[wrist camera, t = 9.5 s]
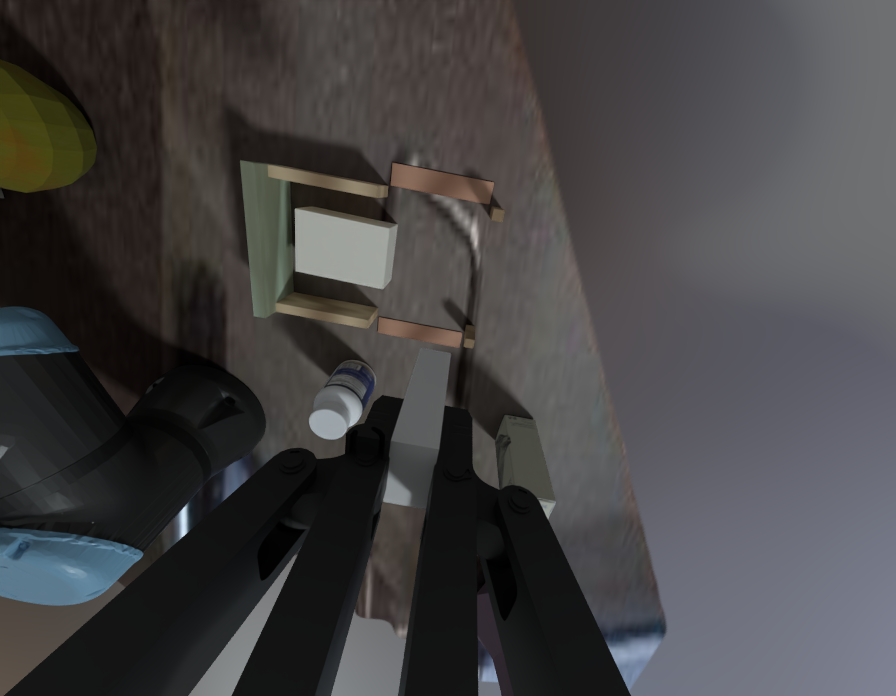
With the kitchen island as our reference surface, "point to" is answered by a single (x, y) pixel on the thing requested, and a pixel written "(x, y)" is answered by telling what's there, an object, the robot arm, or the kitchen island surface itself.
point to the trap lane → (274, 251)
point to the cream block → (344, 246)
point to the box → (523, 460)
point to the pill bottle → (342, 399)
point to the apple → (40, 134)
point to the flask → (492, 639)
